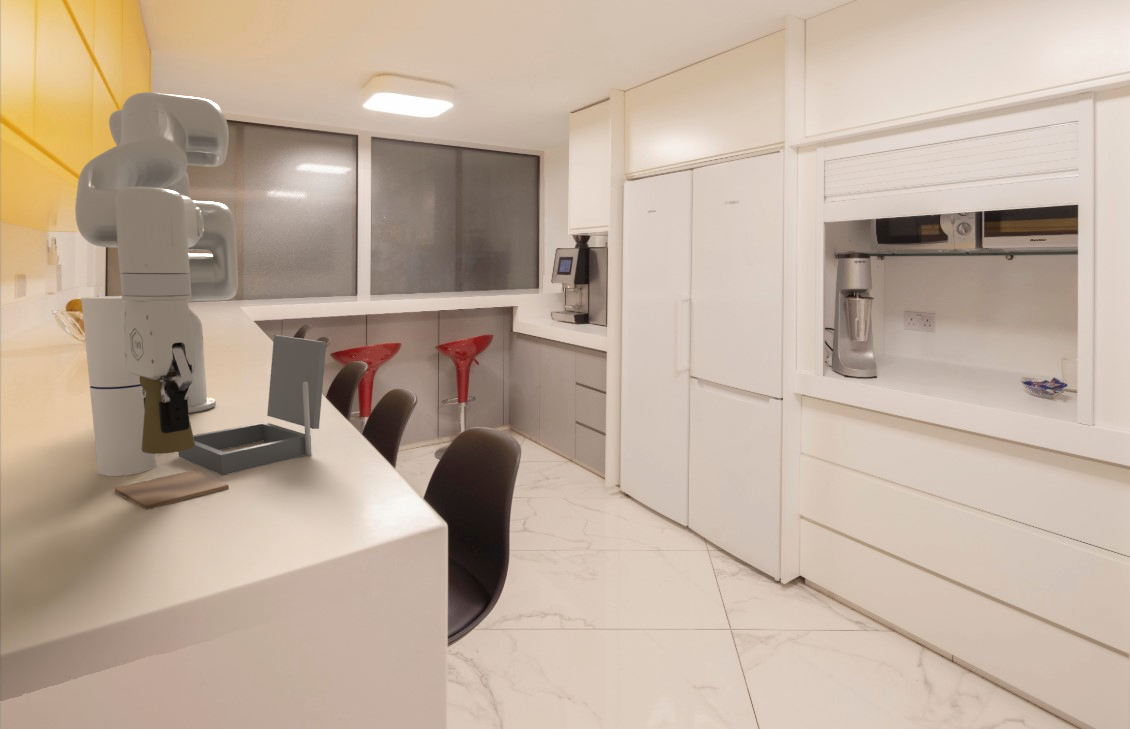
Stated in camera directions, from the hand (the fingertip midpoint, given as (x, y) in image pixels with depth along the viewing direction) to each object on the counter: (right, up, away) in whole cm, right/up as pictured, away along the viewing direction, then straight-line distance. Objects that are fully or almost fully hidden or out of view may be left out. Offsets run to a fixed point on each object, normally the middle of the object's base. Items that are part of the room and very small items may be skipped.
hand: (167, 426), depth 85 cm
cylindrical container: (-12, -7, +10) cm, 17 cm away
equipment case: (+2, -6, +17) cm, 18 cm away
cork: (0, -3, 0) cm, 3 cm away
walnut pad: (0, -9, +1) cm, 9 cm away
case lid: (+7, +6, +22) cm, 24 cm away
